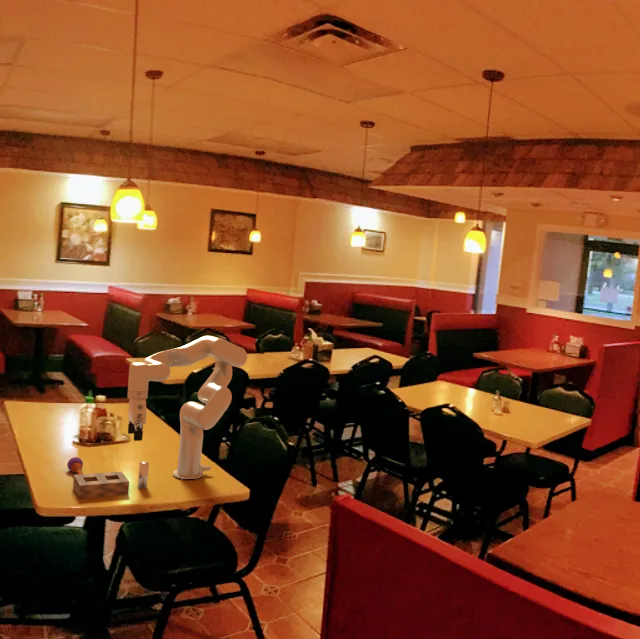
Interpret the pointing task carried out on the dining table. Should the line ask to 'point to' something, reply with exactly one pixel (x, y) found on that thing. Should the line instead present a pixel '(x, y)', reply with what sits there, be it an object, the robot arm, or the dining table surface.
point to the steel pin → (143, 475)
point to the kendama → (75, 465)
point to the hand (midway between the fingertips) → (134, 436)
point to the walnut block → (100, 484)
